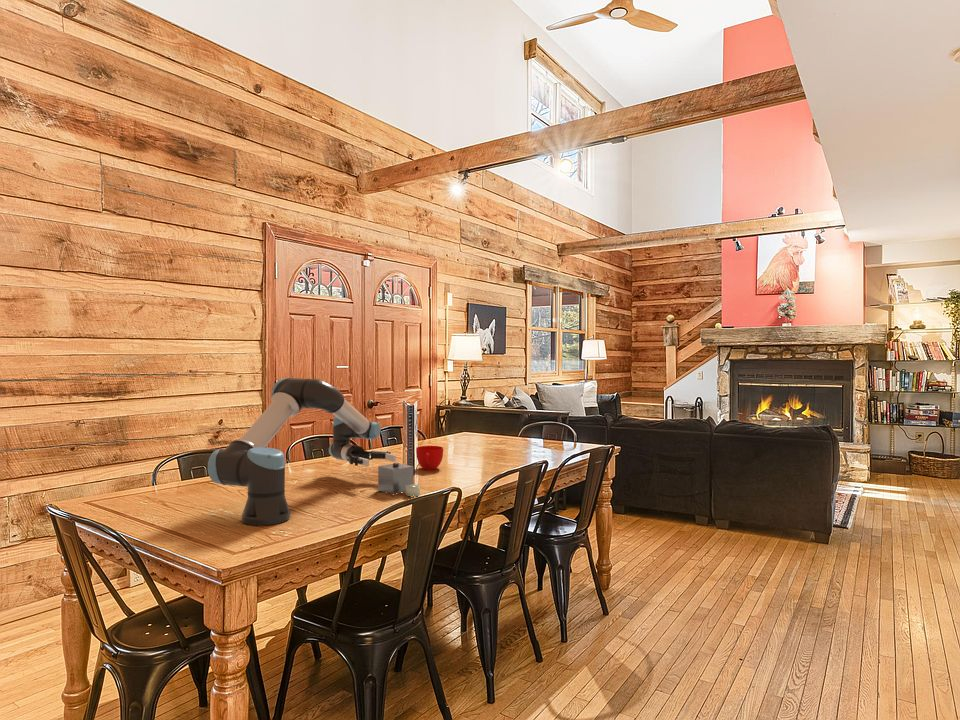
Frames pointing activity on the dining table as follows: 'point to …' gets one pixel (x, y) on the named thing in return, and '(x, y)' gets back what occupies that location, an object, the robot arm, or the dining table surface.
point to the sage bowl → (412, 490)
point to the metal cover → (394, 477)
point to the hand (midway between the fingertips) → (382, 460)
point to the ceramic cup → (429, 456)
